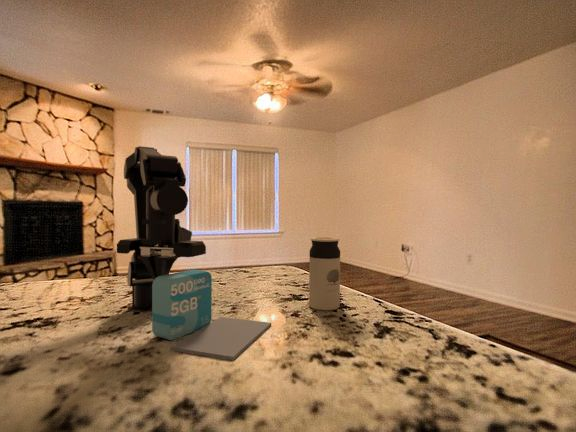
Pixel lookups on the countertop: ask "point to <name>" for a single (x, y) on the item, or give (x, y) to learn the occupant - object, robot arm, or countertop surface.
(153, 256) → the robot arm
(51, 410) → the countertop surface
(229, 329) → the mat
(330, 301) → the travel mug
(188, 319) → the data package
